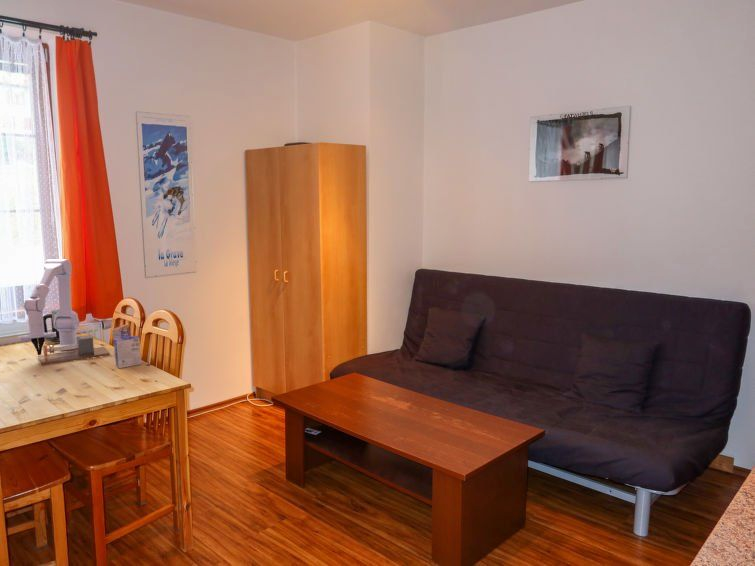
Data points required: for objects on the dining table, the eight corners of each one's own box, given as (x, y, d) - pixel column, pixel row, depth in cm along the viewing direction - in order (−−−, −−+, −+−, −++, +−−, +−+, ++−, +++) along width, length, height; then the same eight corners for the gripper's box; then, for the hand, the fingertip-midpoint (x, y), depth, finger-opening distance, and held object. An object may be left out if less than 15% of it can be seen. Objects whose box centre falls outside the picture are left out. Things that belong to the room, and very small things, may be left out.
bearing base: (40, 365, 262) (38, 346, 260) (38, 358, 273) (36, 340, 272) (109, 355, 277) (108, 337, 276) (104, 349, 289) (102, 331, 287)
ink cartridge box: (138, 361, 266) (135, 330, 264) (142, 364, 262) (139, 332, 260) (114, 366, 260) (112, 333, 258) (118, 368, 256) (116, 335, 254)
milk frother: (70, 335, 317) (68, 308, 315) (78, 340, 306) (76, 312, 303) (40, 340, 308) (37, 311, 306) (47, 345, 296) (44, 316, 294)
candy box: (124, 357, 274) (121, 324, 272) (133, 357, 274) (130, 324, 271) (114, 362, 265) (111, 329, 263) (123, 362, 265) (121, 329, 262)
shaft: (44, 357, 266) (43, 346, 266) (43, 354, 270) (42, 343, 270) (91, 350, 277) (90, 339, 276) (90, 348, 281) (89, 337, 280)
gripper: (17, 328, 258) (21, 359, 260) (55, 324, 266) (58, 353, 268) (17, 325, 264) (20, 355, 266) (54, 321, 272) (56, 350, 274)
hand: (39, 354), depth 267 cm, fingers closed
